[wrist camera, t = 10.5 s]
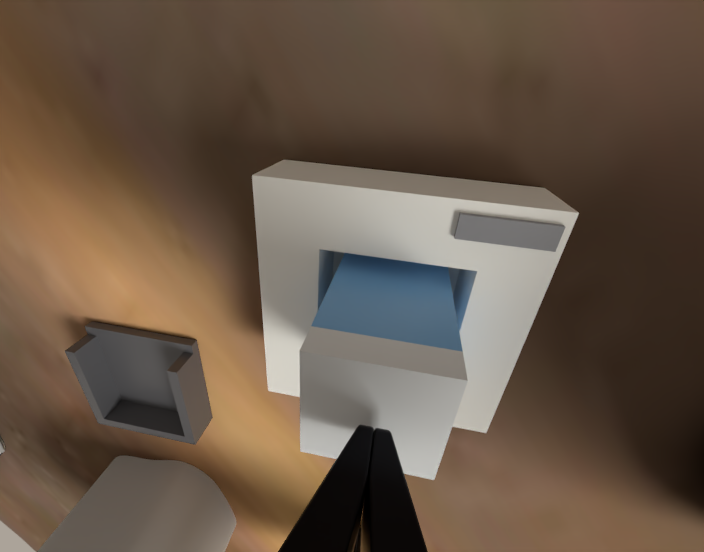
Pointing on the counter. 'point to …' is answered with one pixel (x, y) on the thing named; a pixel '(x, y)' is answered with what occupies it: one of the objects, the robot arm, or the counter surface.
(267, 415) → the counter surface
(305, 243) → the port
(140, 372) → the grey shallow square piece
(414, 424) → the plug
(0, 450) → the candy bar box
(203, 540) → the grey lumpy container
